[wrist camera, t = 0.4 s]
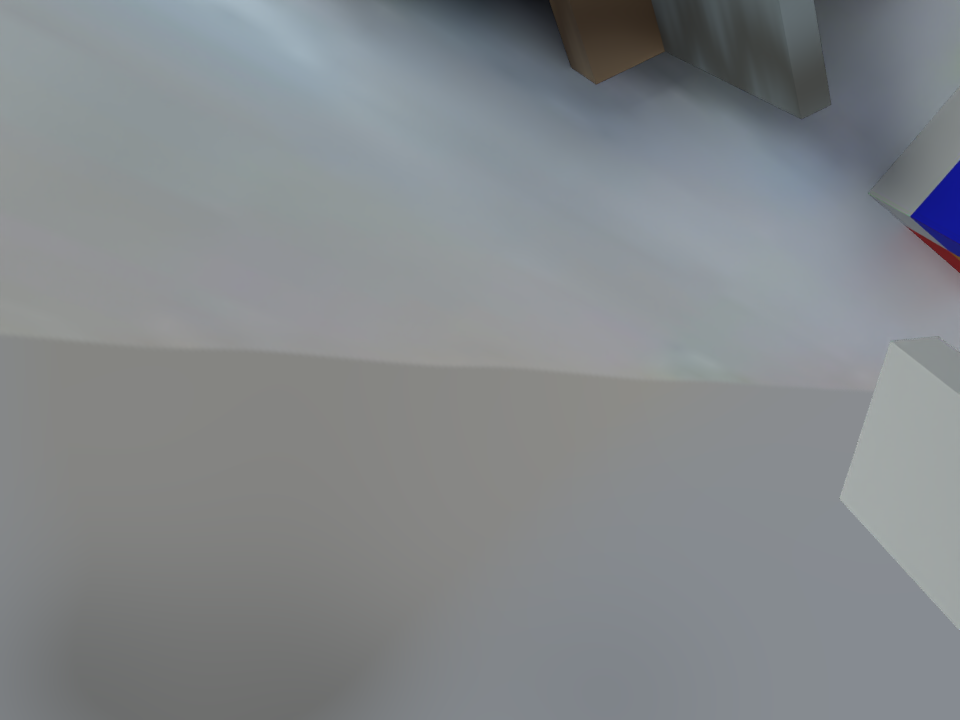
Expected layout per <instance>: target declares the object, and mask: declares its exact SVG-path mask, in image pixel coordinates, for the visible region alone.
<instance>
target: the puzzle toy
mask: <svg viewBox="0 0 960 720" xmlns="http://www.w3.org/2000/svg"><path fill="white" fill-rule="evenodd" d="M868 194H870V195H871V196H872V197H873V198H874V199H875V200H876V201H878V202H879V203H880V204H881V205H882V206H883V207H885V208H886V209H887V210H888V211H889V212H890V213H891V214H893V215H894V216H895V217H896V218H897V219H898V220H899V221H901V222H902V223H903V224H904V225H905V226H906V227H908V228H909V229H910V230H911V231H912V232H913V233H914V234H916V235H917V236H918V237H919V238H920V239H921V240H923V241H924V242H925V243H926V244H927V245H928V246H929V247H931V248H932V249H933V250H934V251H935V252H936V253H938V254H939V255H940V256H941V257H942V258H943V259H944V260H946V261H947V262H948V263H949V264H950V265H951V266H953V267H954V268H955V269H956V270H957V271H958V272H959V273H960V86H959V87H958V89H957V90H956V91H955V92H954V93H953V95H952V96H951V97H950V98H949V99H948V100H947V102H946V103H945V104H944V105H943V106H942V107H941V109H940V110H939V111H938V112H937V113H936V114H935V116H934V117H933V118H932V119H931V120H930V121H929V123H928V124H927V125H926V126H925V127H924V128H923V130H922V131H921V132H920V133H919V134H918V136H917V137H916V138H915V139H914V140H913V141H912V143H911V144H910V145H909V146H908V147H907V148H906V150H905V151H904V152H903V153H902V154H901V155H900V157H899V158H898V159H897V160H896V161H895V162H894V164H893V165H892V166H891V167H890V168H889V169H888V171H887V172H886V173H885V174H884V175H883V177H882V178H881V179H880V180H879V181H878V182H877V184H876V185H875V186H874V187H873V188H872V189H871V191H870V192H869V193H868Z"/></svg>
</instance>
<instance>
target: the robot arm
mask: <svg viewBox="0 0 960 720" xmlns="http://www.w3.org/2000/svg"><path fill="white" fill-rule="evenodd" d="M839 499H840V500H841V501H842V502H843V503H844V504H845V506H846V507H848V509H849V510H850V511H851V512H852V513H853V514H854V515H855V516H856V518H857V519H859V521H860V522H861V523H862V524H863V525H864V526H865V527H866V528H867V530H868V531H869V532H870V533H871V534H872V535H873V536H874V537H875V538H876V539H877V541H878V542H879V543H880V544H881V545H882V546H883V547H884V548H885V549H886V551H887V552H888V553H889V554H890V555H891V556H892V557H893V558H894V559H895V560H896V562H897V563H898V564H899V565H900V566H901V567H902V568H903V569H904V570H905V571H906V572H907V574H908V575H909V576H910V577H911V578H912V579H913V580H914V581H915V582H916V583H917V584H918V586H919V587H920V588H921V589H922V590H923V591H924V592H925V593H926V594H927V595H928V597H929V598H930V599H931V600H932V601H933V602H934V603H935V604H936V605H937V607H938V608H939V609H940V610H941V611H942V612H943V613H944V614H945V615H946V616H947V617H948V618H949V620H950V621H951V622H952V623H953V624H954V625H955V626H956V627H957V628H958V629H959V631H960V352H959V351H957V350H956V349H955V348H953V347H952V346H951V345H949V344H948V343H946V342H945V341H944V340H942V339H941V338H940V337H927V338H917V339H906V340H895V341H890V344H889V347H888V351H887V354H886V357H885V360H884V363H883V366H882V369H881V372H880V375H879V378H878V381H877V384H876V388H875V391H874V394H873V397H872V400H871V403H870V406H869V409H868V412H867V415H866V418H865V421H864V425H863V428H862V431H861V434H860V437H859V440H858V443H857V446H856V450H855V452H854V455H853V458H852V462H851V465H850V468H849V471H848V474H847V477H846V480H845V483H844V486H843V489H842V492H841V495H840V498H839Z"/></svg>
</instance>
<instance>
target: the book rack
mask: <svg viewBox="0 0 960 720" xmlns="http://www.w3.org/2000/svg"><path fill="white" fill-rule="evenodd" d="M549 2H550V5H551V8H552V11H553V14H554V17H555V20H556V23H557V26H558V29H559V32H560V35H561V38H562V41H563V44H564V47H565V50H566V53H567V56H568V59H569V62H570V65H571V68H572V69H574V70H575V71H577V72H578V73H580V74H581V75H583V76H584V77H586V78H587V79H589V80H590V81H592V82H593V83H595V84H598V83H600V82H603V81H605V80H607V79H609V78H611V77H613V76H615V75H617V74H619V73H621V72H623V71H625V70H627V69H630V68H632V67H634V66H636V65H638V64H640V63H642V62H644V61H646V60H648V59H650V58H652V57H654V56H656V55H659V54H661V53H663V52H667V53H669V54H671V55H673V56H675V57H677V58H679V59H681V60H683V61H685V62H687V63H689V64H691V65H693V66H695V67H697V68H699V69H701V70H703V71H705V72H707V73H709V74H711V75H713V76H715V77H717V78H719V79H722V80H724V81H726V82H728V83H730V84H732V85H734V86H736V87H738V88H740V89H742V90H744V91H746V92H748V93H750V94H752V95H754V96H756V97H758V98H760V99H762V100H764V101H766V102H768V103H770V104H772V105H774V106H776V107H778V108H780V109H782V110H784V111H786V112H788V113H790V114H792V115H794V116H796V117H798V118H800V119H803V118H805V117H807V116H809V115H811V114H813V113H815V112H817V111H819V110H822V109H824V108H826V107H828V106H830V105H831V100H830V94H829V88H828V82H827V76H826V70H825V64H824V58H823V52H822V46H821V40H820V34H819V29H818V23H817V17H816V11H815V5H814V0H549Z"/></svg>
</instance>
